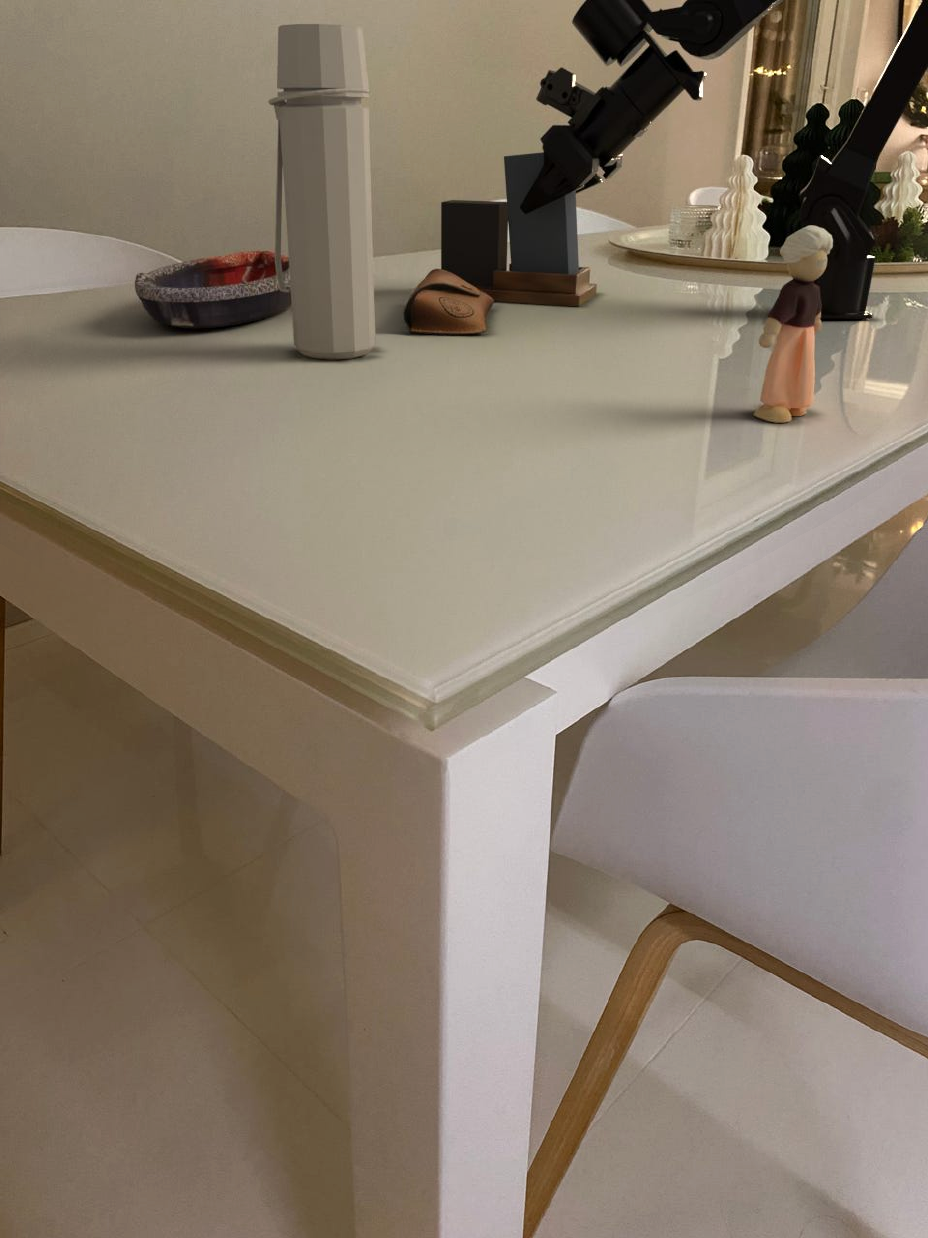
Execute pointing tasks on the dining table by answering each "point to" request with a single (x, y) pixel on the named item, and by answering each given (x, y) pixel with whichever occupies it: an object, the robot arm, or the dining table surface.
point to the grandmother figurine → (794, 328)
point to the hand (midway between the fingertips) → (530, 208)
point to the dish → (215, 290)
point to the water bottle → (325, 188)
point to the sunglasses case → (447, 306)
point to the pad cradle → (500, 258)
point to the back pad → (539, 222)
